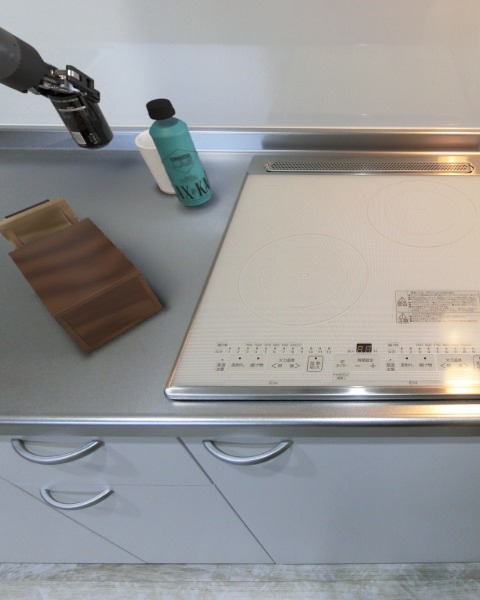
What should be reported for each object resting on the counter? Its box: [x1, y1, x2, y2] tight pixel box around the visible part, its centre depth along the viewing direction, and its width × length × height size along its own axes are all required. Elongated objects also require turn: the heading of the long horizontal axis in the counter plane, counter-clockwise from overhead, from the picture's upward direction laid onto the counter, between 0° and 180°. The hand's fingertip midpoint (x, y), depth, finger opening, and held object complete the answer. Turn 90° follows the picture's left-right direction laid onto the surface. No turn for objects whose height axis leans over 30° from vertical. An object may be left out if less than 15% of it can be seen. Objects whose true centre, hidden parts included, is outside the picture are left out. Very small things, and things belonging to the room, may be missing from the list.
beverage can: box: [47, 78, 114, 151], centre depth 82 cm, size 7×7×12 cm
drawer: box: [0, 195, 80, 250], centre depth 72 cm, size 21×10×7 cm, turn 47°
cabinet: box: [7, 217, 164, 354], centre depth 66 cm, size 18×12×9 cm, turn 47°
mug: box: [134, 128, 177, 195], centre depth 87 cm, size 11×9×10 cm
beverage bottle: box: [145, 97, 212, 207], centre depth 79 cm, size 6×7×20 cm
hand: (78, 97), depth 81 cm, fingers closed on beverage can, 7 cm apart
